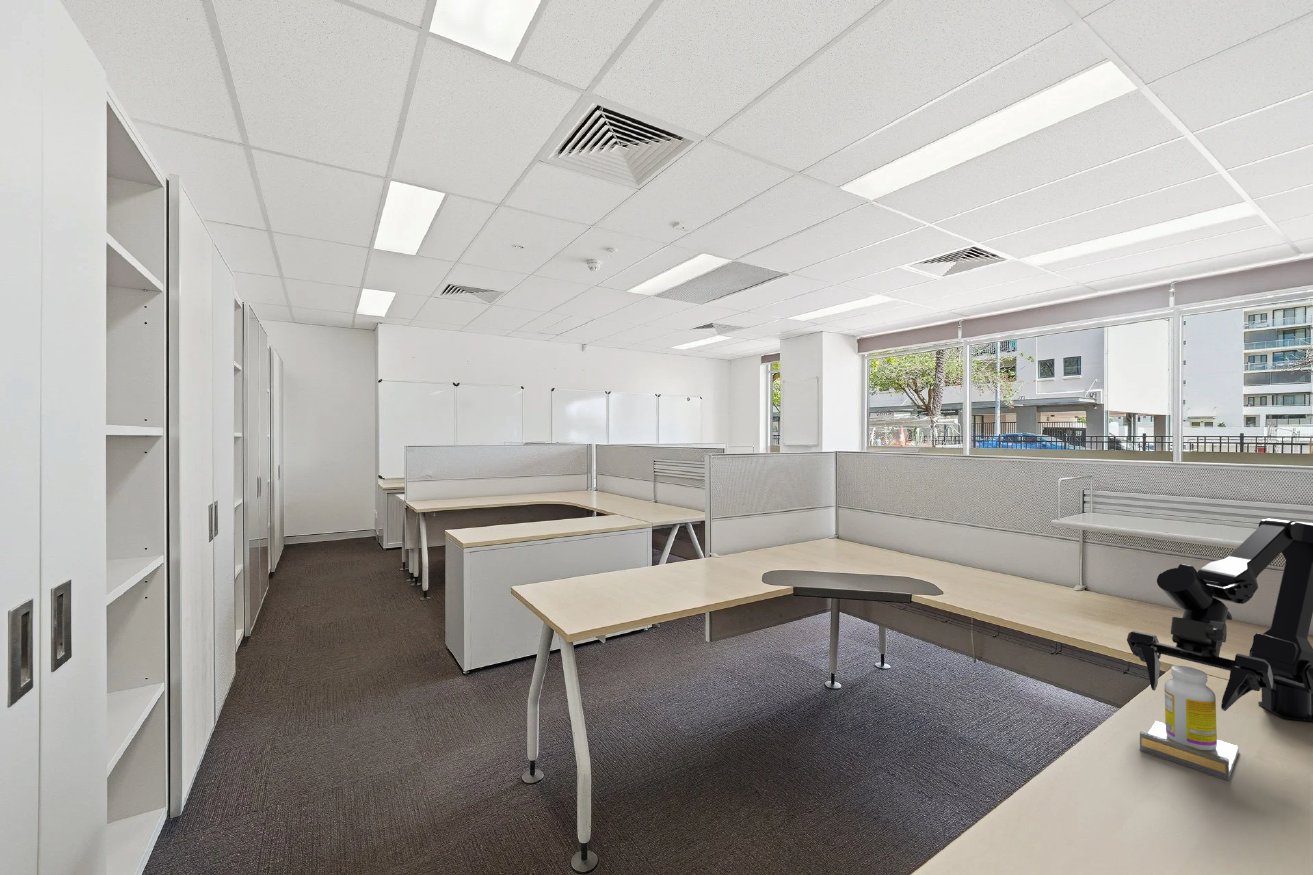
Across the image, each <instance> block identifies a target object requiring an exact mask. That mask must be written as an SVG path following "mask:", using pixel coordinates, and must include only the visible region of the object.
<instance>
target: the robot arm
mask: <svg viewBox="0 0 1313 875" xmlns="http://www.w3.org/2000/svg"><path fill="white" fill-rule="evenodd" d="M1280 554H1282V556H1283V557H1284V560H1285V563H1284V567H1283V572H1282V576H1281V581H1280V585H1279V589H1278V590H1279V591H1278V592H1277V598H1276V602H1275V603H1276V604H1275V607H1274V612H1273V616H1272V621H1271V625H1270V628H1269V629H1268V630H1266V631H1264V632H1263V633H1259V632H1256V633H1255V634H1254V635H1253V638H1252V644H1251V647H1250V649H1249V654H1248V655H1246V654H1241V653H1236V654H1235V656H1234V659H1229V658H1225V657H1221V656H1220V654H1221V650H1222V646H1223V643H1226V642H1227V624H1226V622H1227V620H1228V621H1231V620H1233V616H1232V613H1231V612H1230V611H1229V608H1228V607H1227V605H1226V604H1225V603H1224V601H1225V602H1230V603H1234V604H1240V605H1244V604H1246V603H1247V602H1249V601H1250V600H1251V599H1252V598H1253V596H1254V594H1255V593H1256V592H1257V591H1258V589H1259V585H1258V581H1257V578H1258V577H1259V575H1260V574H1261V573H1262V572H1263V571H1264V570H1266V568H1268V567H1269V565H1270V564H1272V562H1273V561H1274V560H1276V558H1277V557H1278V556H1279V555H1280ZM1156 584H1157V586H1158V587H1159V588H1160V589H1161V591H1163V593H1165V595H1166V596H1167V597H1168V598H1169V599H1170V600H1171V601H1172V602H1173V604H1175V605H1176V606H1177V607H1178V608H1180V609H1183V614H1182V617H1178V616H1172V618H1171V626H1170V635H1172V637H1171V640H1172V642H1173V643H1174V644H1175V646H1174V645H1169V644H1166V643H1161V642H1160V641H1159V640H1158V636H1157V635H1156V634H1152V633H1147V632H1144V631H1139V630H1132V631H1130V632H1129V633H1128V634H1127V638H1126V641H1127V642H1126V643H1127V644H1128V646H1129V649H1130V650H1131V653H1132V655H1134V656H1136V657H1138V658H1139V660H1140V661H1141V662H1144V663H1145V664H1146V667H1147V668H1146V669H1147V675H1148V678H1149V683H1150V689H1151V690H1152V691H1154V692H1155V691H1156V689H1157V687H1158V685H1159V684H1158V683H1159V676H1160V670H1161V666H1162V664H1161V662H1160V659H1161V656H1162V655H1164V656H1168V657H1172V658H1176V659H1180V660H1185V661H1189V662H1191V663H1197V664H1200V665H1205V666H1209V667H1212V668H1213V667H1214V668H1218V669H1222V670H1225V671H1230V672H1229V679H1228V682H1227V684H1226V688H1225V690H1224V693H1223V695H1222V700H1221V705H1220V708H1221V711H1224V712H1226V711H1227V710H1228V709H1230V708H1231V706H1232V705H1234V704H1235V703H1236V702H1237V701H1238V700H1239V699H1240V698H1241V697H1243V696H1245V695H1246V694H1248V693H1249V692H1252V691H1255V692H1260V691H1261V700H1260V701H1259V700H1258V701H1257V703H1258V705H1259V706H1261V707H1262V708H1265V709H1266V710H1267V711H1269V712H1271V713H1272V714H1274V715H1276V716H1278V717H1279V718H1281V719H1283V720H1290V721H1302V722H1312V723H1313V646H1312V645H1311V642H1310V641H1309V640H1308V637H1309V632H1310V629H1311V628H1310V627H1311V624H1312V623H1311V622H1312V618H1313V522H1312V521H1305V520H1297V519H1279V518H1273V517H1272V518H1269V517H1268V518H1263V519H1261V520H1260V522H1259V523H1258V527H1257V528H1256V529H1255V530H1254V532H1252V533H1251V534H1250V535H1249V536H1248V537H1247V538H1246V539H1245V540H1244V541H1243V542H1242V543H1241V544H1240V545H1238V546H1237V547H1236V548H1235V549H1234V550H1233V552H1231V554H1229V555H1228V556H1227V557H1225V558H1223V559H1220V560H1214V561H1210V562H1209V563H1207V564H1206V565H1204V566H1203V567H1201V568H1200V569H1199V570H1198V571H1197V569H1196V568H1195V567H1194V566H1193V565H1190V564H1189V565H1188V564H1183V563H1179V565H1178V566H1177V567H1174V568H1168V569H1166V570H1165V571H1163V572H1161V573H1159V574H1158V576H1157V578H1156ZM1221 600H1222V601H1221Z"/></svg>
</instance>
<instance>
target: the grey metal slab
mask: <svg viewBox="0 0 1313 875" xmlns="http://www.w3.org/2000/svg"><path fill="white" fill-rule="evenodd" d="M1239 749H1240V748H1239V745H1236V744H1234V743H1233V744H1232V743H1229V742H1226V741H1224V740H1221V739H1217V747H1216V748H1215V749H1213V750H1199V749H1196V748H1193V747H1190V746H1187V745H1184V744H1181V743H1178V742H1175V741H1173V740H1172V739H1170V738H1169V737H1168V736H1167V734H1166V726H1165V723H1164V722H1161V721H1157V720H1155V722H1154V724H1153V725H1152V727H1150V729H1149V731H1148V732H1146V731H1142V730H1140V731H1139V752H1143V753H1146V754H1148V755H1152V756H1155V757H1158V758H1161V759H1164V760H1167V761H1170V762H1173V763H1176V764H1178V765H1182V766H1185V767H1186V768H1190V769H1193V770H1196V771H1199V772H1202V773H1204V774H1208V775H1211V776H1213V777H1217V778H1218V779H1222V780H1225V781H1229V780H1230V778H1231V776H1232V775H1231V774H1232V771H1233V768H1234V766H1235V763H1236V761H1237V759H1238V758H1237V757H1238V755H1239V751H1240V750H1239Z"/></svg>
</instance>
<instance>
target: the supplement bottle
mask: <svg viewBox="0 0 1313 875" xmlns="http://www.w3.org/2000/svg"><path fill="white" fill-rule="evenodd" d="M1170 670H1171V671H1170V674H1171V676H1172V678H1171V679H1168V680H1166V681H1165V682H1164V713H1165V714H1164V719H1165V721H1164V722H1165V723H1164V724H1165V726H1166V734H1167V736H1168V737H1169V738H1170V739H1172V740H1173V741H1175V742H1178V743H1181V744H1184V745H1187V746H1190V747H1193V748H1196V749H1199V750H1213V749H1215V748H1216V747H1217V740H1218V738H1217V737H1218V735H1217V733H1218V732H1217V705H1216V704H1217V701H1216V697H1217V696H1216V694H1215V692H1214V691H1213V689H1211V688H1210V687H1209V686H1207V685H1206V684H1207V682H1208V674H1207V672H1204V670H1203V671H1202V670H1200V669H1199V668H1198V669H1197V668H1194V667H1190V666H1184V665H1172V666H1171V668H1170Z"/></svg>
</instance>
